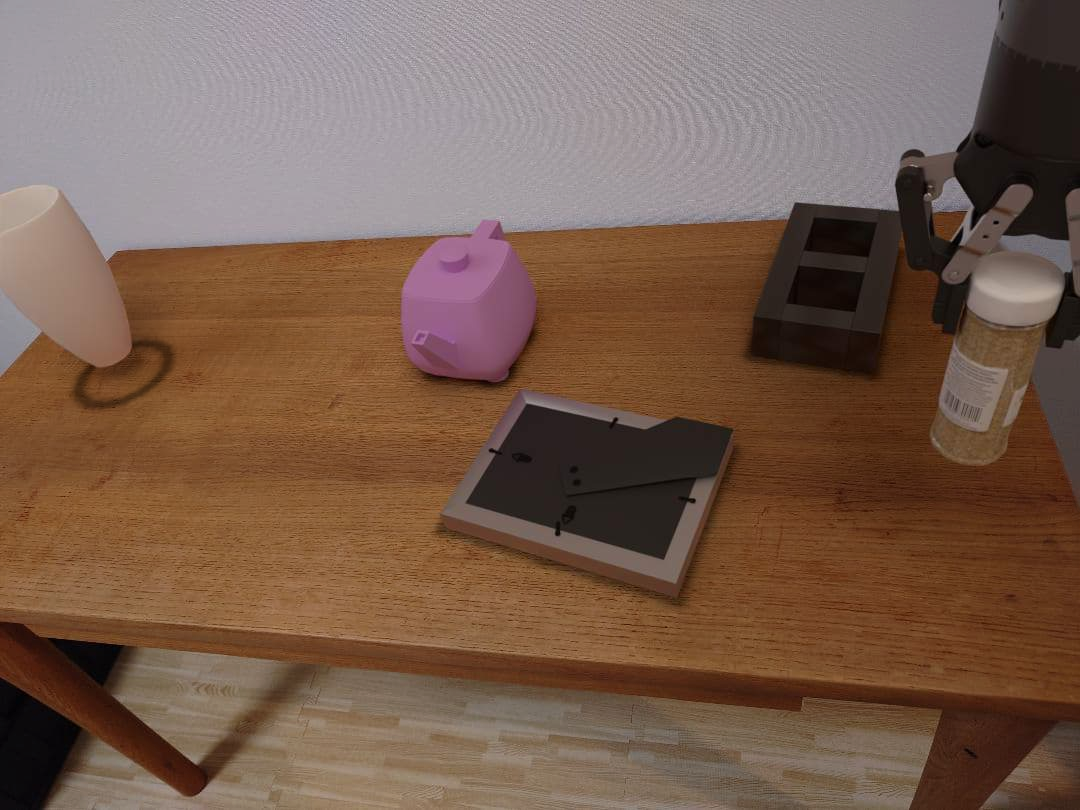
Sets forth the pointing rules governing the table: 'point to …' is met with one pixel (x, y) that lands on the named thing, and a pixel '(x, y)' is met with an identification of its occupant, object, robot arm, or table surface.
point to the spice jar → (994, 354)
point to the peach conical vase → (60, 275)
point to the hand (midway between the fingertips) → (1000, 331)
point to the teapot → (468, 306)
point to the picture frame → (594, 488)
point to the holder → (829, 287)
